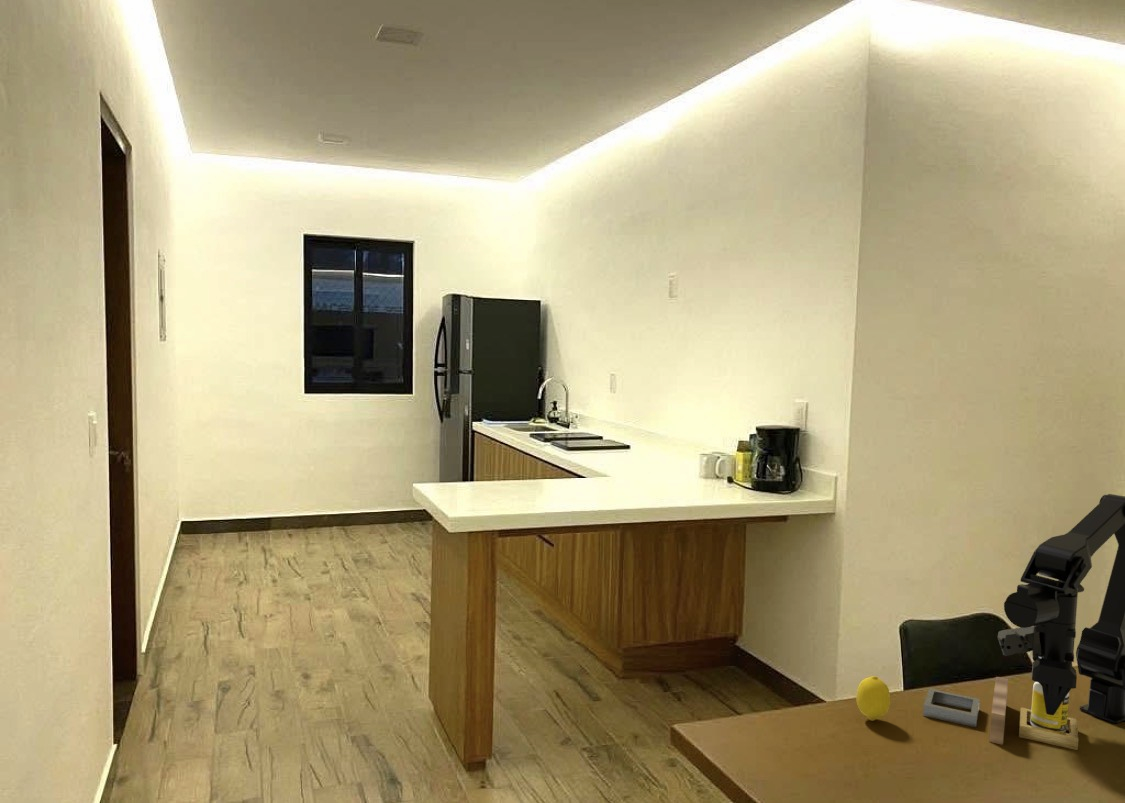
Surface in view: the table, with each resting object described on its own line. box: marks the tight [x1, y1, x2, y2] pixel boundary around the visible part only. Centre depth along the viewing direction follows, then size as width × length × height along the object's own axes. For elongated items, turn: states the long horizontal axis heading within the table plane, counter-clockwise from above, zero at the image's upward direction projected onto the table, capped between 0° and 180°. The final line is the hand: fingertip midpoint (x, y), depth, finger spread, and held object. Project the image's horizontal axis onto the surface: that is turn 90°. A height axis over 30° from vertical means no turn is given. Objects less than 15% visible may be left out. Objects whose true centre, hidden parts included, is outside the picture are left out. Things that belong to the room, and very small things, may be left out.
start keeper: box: [922, 688, 981, 728], centre depth 152 cm, size 8×8×2 cm
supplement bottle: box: [1029, 681, 1070, 733], centre depth 145 cm, size 5×5×10 cm
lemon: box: [855, 675, 891, 722], centre depth 148 cm, size 6×6×8 cm
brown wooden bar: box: [989, 676, 1009, 746], centre depth 149 cm, size 18×2×5 cm, turn 151°
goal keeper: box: [1018, 707, 1079, 751], centre depth 145 cm, size 8×8×2 cm
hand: (1049, 708), depth 145 cm, fingers closed on supplement bottle, 5 cm apart
